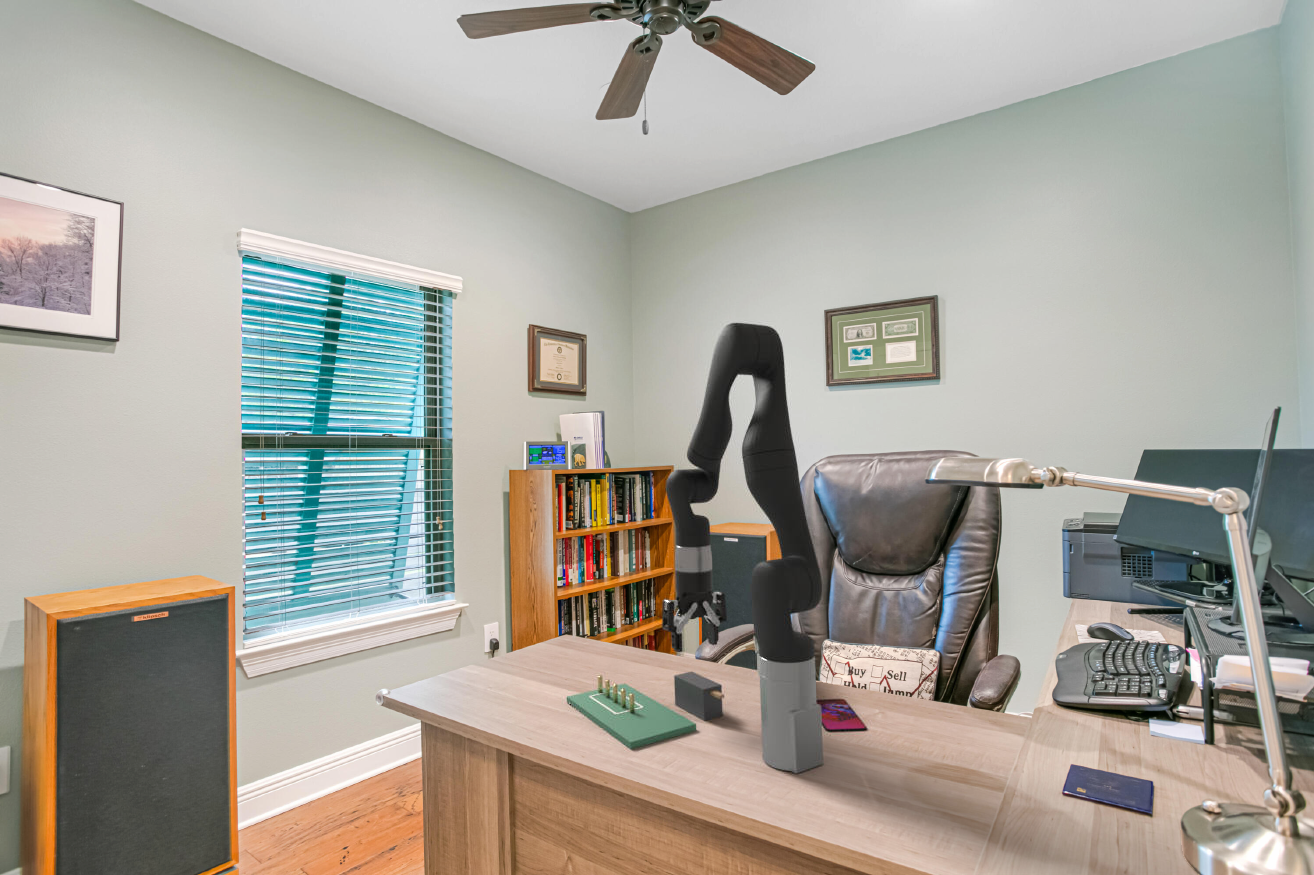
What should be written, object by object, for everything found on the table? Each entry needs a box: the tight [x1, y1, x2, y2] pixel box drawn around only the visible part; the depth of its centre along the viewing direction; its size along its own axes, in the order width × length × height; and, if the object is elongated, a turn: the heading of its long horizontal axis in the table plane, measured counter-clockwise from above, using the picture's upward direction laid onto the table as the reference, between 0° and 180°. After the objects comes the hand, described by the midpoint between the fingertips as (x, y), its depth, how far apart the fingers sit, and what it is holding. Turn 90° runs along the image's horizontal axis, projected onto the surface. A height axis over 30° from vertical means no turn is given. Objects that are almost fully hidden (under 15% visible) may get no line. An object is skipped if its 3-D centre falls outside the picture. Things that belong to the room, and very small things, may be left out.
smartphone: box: [816, 698, 867, 733], centre depth 129 cm, size 8×1×15 cm
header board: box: [566, 683, 697, 750], centre depth 132 cm, size 28×14×1 cm, turn 31°
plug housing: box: [673, 671, 725, 722], centre depth 133 cm, size 13×4×6 cm, turn 31°
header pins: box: [597, 674, 635, 713], centre depth 137 cm, size 15×1×4 cm, turn 31°
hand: (695, 647), depth 134 cm, fingers open, 8 cm apart
